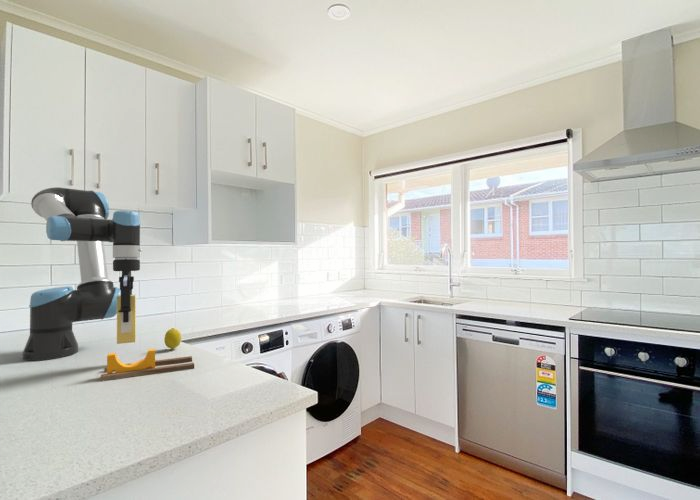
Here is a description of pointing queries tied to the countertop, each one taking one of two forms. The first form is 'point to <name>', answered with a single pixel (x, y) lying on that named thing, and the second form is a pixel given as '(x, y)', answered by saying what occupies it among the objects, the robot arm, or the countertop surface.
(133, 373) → the channel
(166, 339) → the lemon
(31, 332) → the robot arm
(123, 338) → the yellow rectangular block
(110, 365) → the pipe clamp
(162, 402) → the countertop surface
